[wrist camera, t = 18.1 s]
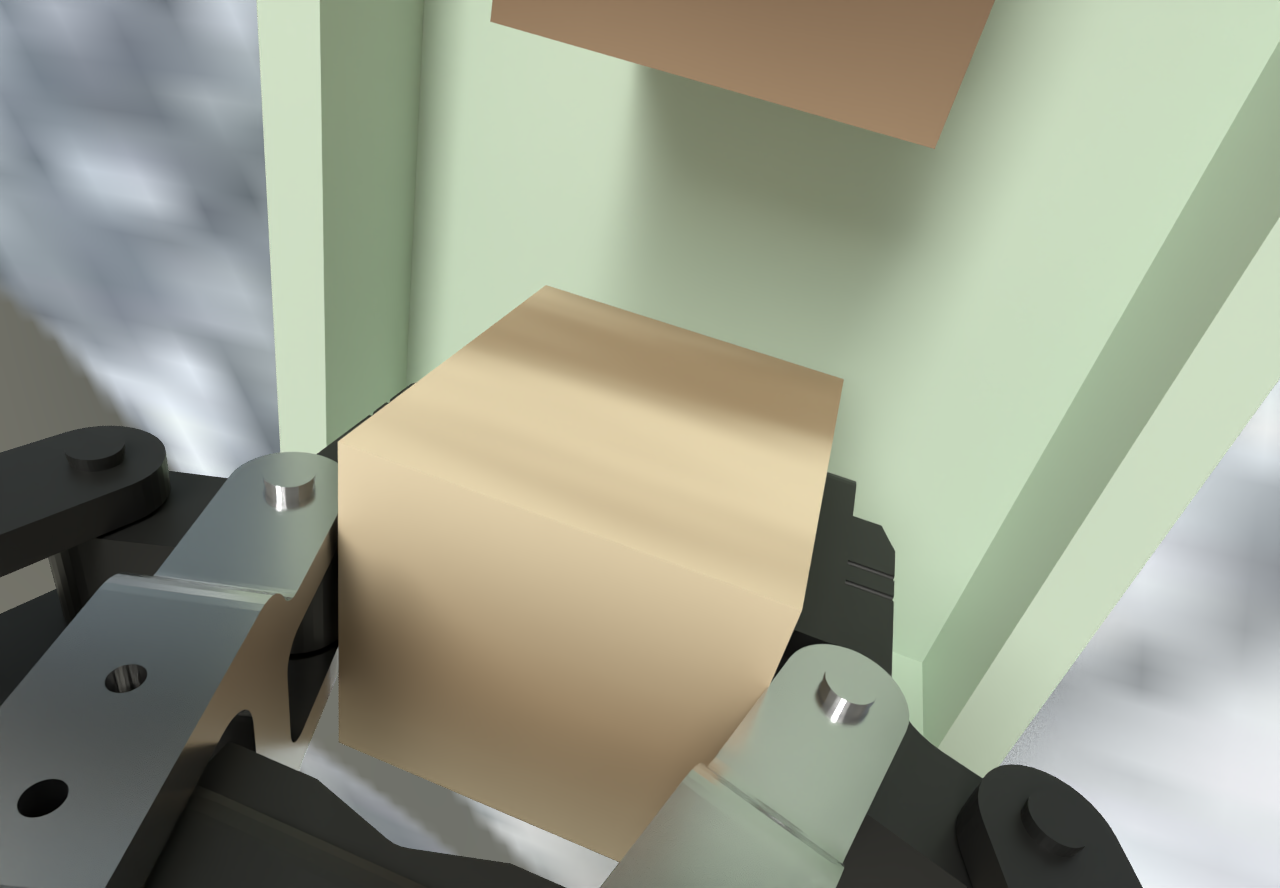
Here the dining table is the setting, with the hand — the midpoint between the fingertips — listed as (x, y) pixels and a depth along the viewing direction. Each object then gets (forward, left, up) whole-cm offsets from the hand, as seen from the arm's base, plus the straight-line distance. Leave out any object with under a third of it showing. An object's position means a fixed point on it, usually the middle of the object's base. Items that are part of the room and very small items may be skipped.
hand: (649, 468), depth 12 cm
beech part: (0, 0, 0) cm, 0 cm away
